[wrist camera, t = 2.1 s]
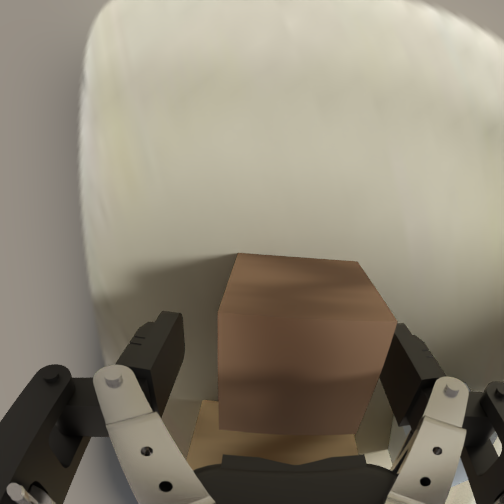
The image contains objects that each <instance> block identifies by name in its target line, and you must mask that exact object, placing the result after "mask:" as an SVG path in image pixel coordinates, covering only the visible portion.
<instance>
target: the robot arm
mask: <svg viewBox="0 0 504 504" xmlns="http://www.w3.org/2000/svg"><path fill="white" fill-rule="evenodd" d="M184 353H185V343H184V330H183V317H182V314H181V313H176V312H167V311H162V312H161V314H160V315H159V317H158V318H157V320H156V322H155V323H154V322H148V323H146V324H145V325H143V326H142V327H140V328H139V329H138V331H137V332H136V334H135V335H134V337H133V338H132V340H131V341H130V344H128V346H127V347H126V349H125V350H124V352H123V353H122V355H121V356H120V358H119V359H118V361H117V362H116V364H115V365H109V366H105V367H103V368H101V369H100V370H98V371H97V372H96V373H95V375H94V377H93V378H72V376H71V373H70V371H69V370H68V368H66V367H64V366H62V365H48V366H46V367H43V368H42V369H40V370H39V371H38V372H37V373H36V374H35V375H34V377H33V378H32V380H31V381H30V382H29V383H28V385H27V386H26V387H25V389H24V390H23V391H22V393H21V394H20V395H19V397H18V398H17V399H16V401H15V402H14V404H13V405H12V406H11V408H10V409H9V410H8V412H7V413H6V415H5V416H4V418H3V419H2V420H1V422H0V504H63V502H64V500H65V497H66V495H67V492H68V490H69V487H70V485H71V482H72V480H73V478H74V475H75V473H76V471H77V468H78V466H79V464H80V461H81V459H82V456H83V454H84V452H85V449H86V447H87V445H88V443H89V441H90V438H91V437H110V439H111V441H112V444H113V447H114V450H115V452H116V455H117V457H118V460H119V462H120V464H121V467H122V469H123V472H124V474H125V476H126V478H127V480H128V483H129V485H130V487H131V489H132V491H133V494H134V496H135V498H136V500H137V502H138V504H445V502H446V499H447V497H448V494H449V491H450V488H451V485H452V482H453V479H454V476H455V473H456V470H457V466H458V463H459V460H460V458H461V461H462V464H463V466H464V469H465V472H466V475H467V477H468V480H469V483H470V486H471V489H472V492H473V495H474V498H475V501H476V504H504V383H502V382H491V383H489V384H488V386H487V387H486V389H485V391H484V393H482V392H470V391H469V390H468V388H467V386H466V385H465V384H464V383H463V382H462V381H461V380H459V379H457V378H454V377H447V376H446V375H445V373H444V372H443V370H442V369H441V367H440V366H439V364H438V363H437V361H436V360H435V358H434V357H433V355H432V354H431V352H430V351H429V349H428V348H427V346H426V345H425V343H424V342H423V341H422V340H421V339H419V338H418V337H417V336H415V335H412V334H411V332H410V331H409V330H408V328H407V327H406V325H405V324H403V323H401V324H397V325H396V328H395V332H394V335H393V338H392V341H391V344H390V347H389V350H388V353H387V356H386V359H385V362H384V365H383V368H382V371H381V374H380V376H379V378H380V381H381V383H382V385H383V388H384V390H385V393H386V395H387V398H388V400H389V403H390V406H391V408H392V411H393V413H394V416H395V419H396V421H397V424H398V426H399V427H401V426H408V425H410V427H411V430H410V432H409V433H408V435H407V437H406V439H405V442H404V444H403V446H402V448H401V450H400V452H399V454H398V456H397V458H396V460H395V461H394V463H393V465H392V467H391V469H390V470H388V469H386V468H383V467H380V466H377V465H372V464H366V460H365V456H364V454H363V455H353V456H340V457H330V458H326V459H322V460H318V461H314V462H310V463H306V464H301V465H291V464H286V463H282V462H277V461H273V460H269V459H264V458H260V457H249V456H236V455H225V454H223V456H222V463H221V464H213V465H208V466H204V467H201V468H197V469H195V470H192V469H191V467H190V466H189V464H188V463H187V461H186V460H185V458H184V456H183V455H182V453H181V452H180V450H179V448H178V447H177V445H176V444H175V442H174V440H173V439H172V437H171V435H170V434H169V432H168V430H167V428H166V427H165V425H164V423H163V421H162V420H161V417H162V414H163V412H164V409H165V406H166V404H167V401H168V398H169V396H170V393H171V391H172V388H173V385H174V383H175V380H176V377H177V375H178V372H179V370H180V367H181V365H182V362H183V359H184ZM495 431H496V433H497V435H498V437H499V439H500V441H501V443H502V452H501V455H500V456H499V457H498V455H497V453H496V450H495V448H494V446H493V444H492V442H491V440H490V437H491V436H492V434H493V433H494V432H495Z"/></svg>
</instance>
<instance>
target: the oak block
mask: <svg viewBox="0 0 504 504" xmlns="http://www.w3.org/2000/svg"><path fill="white" fill-rule="evenodd" d="M223 454H225V455H236V456H249V457H260V458H264V459H269V460H273V461H277V462H282V463H286V464H291V465H301V464H306V463H310V462H314V461H318V460H322V459H326V458H330V457H340V456H353V455H358V450H357V445H356V441H355V436H354V434H346V435H278V434H260V433H247V432H237V431H227V430H219V409H218V401H210V400H203V401H202V404H201V408H200V411H199V415H198V419H197V422H196V426H195V430H194V433H193V437H192V441H191V444H190V448H189V451H188V455H187V459H186V461H187V463H188V464H189V466H190V467H191V469H192V470H195V469H197V468H201V467H204V466H208V465H213V464H221V463H222V456H223Z"/></svg>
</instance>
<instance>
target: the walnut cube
mask: <svg viewBox="0 0 504 504" xmlns="http://www.w3.org/2000/svg"><path fill="white" fill-rule="evenodd" d="M396 325H397V320H396V318H395V317H394V315H393V314H392V312H391V311H390V309H389V308H388V306H387V305H386V303H385V302H384V300H383V298H382V297H381V295H380V294H379V292H378V291H377V289H376V288H375V287H374V285H373V284H372V282H371V281H370V279H369V278H368V276H367V275H366V273H365V272H364V270H363V269H362V268H361V266H360V265H359V263H358V262H355V261H341V260H328V259H314V258H300V257H286V256H273V255H259V254H245V253H238V254H237V257H236V260H235V263H234V266H233V269H232V272H231V275H230V278H229V280H228V283H227V286H226V289H225V292H224V295H223V298H222V301H221V304H220V307H219V310H218V409H219V430H227V431H237V432H247V433H260V434H278V435H346V434H356V432H357V430H358V428H359V426H360V423H361V421H362V419H363V416H364V414H365V412H366V409H367V407H368V404H369V402H370V400H371V397H372V395H373V392H374V389H375V387H376V384H377V382H378V379H379V376H380V374H381V371H382V368H383V365H384V362H385V359H386V356H387V353H388V350H389V347H390V344H391V341H392V338H393V335H394V332H395V328H396Z"/></svg>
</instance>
